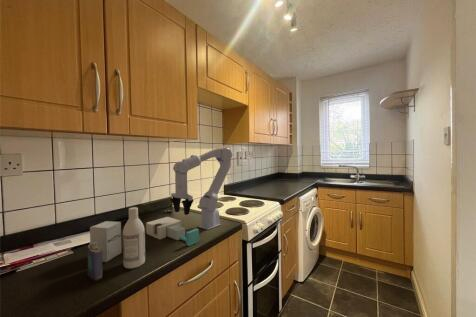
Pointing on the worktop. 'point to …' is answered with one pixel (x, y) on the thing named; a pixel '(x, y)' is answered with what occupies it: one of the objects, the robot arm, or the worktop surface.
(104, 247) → the supplement box
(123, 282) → the worktop surface
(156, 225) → the plunger
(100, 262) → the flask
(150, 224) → the housing
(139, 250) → the bath foam
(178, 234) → the cartridge
